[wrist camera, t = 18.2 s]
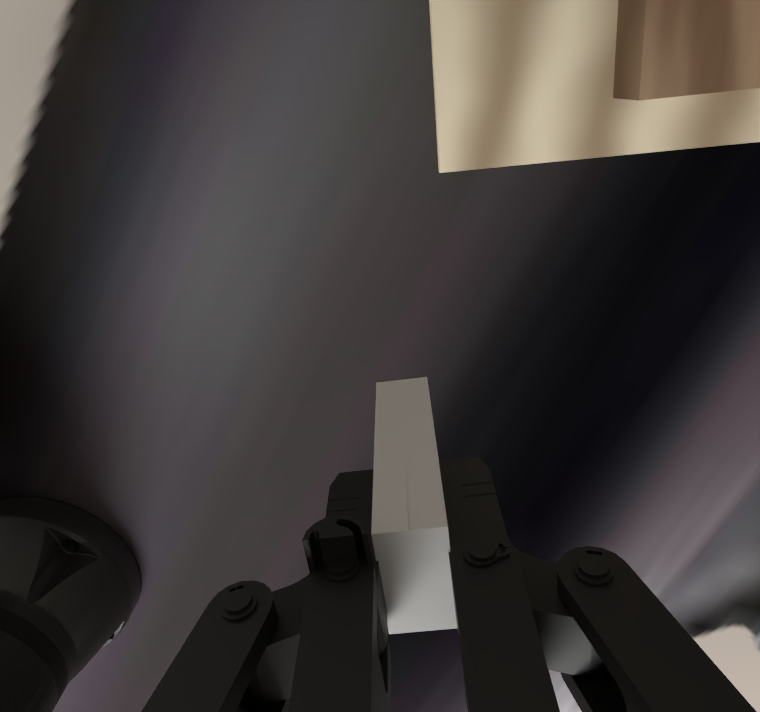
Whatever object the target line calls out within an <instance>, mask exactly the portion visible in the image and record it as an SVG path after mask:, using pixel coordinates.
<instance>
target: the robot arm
mask: <svg viewBox="0 0 760 712" xmlns="http://www.w3.org/2000/svg"><path fill="white" fill-rule="evenodd" d="M302 541H303V546H304V550H305V554H306V558H307V562H308V567H309V571H310V573H309V574H308V575H307V576H306V577H305V578H303V579H302V580H300V581H299V582H297V583H294V584H292V585H290V586H287V587H285V588H282V589H279V590H276V591H273V592H271V589H269V588H268V587H267V586H266V585H265V584H264V583H261V582H257V581H241V582H238V583H235V584H233V585H230V586H228V587H226V588H225V589H223V590H222V591H220V592H219V593H218V594H217V595H216V596H215V597H214V598H213V599H212V600H211V602H210V603H209V604H208V606H207V608H206V609H205V611H204V612H203V614H202V616H201V617H200V619H199V620H198V622H197V624H196V625H195V627H194V628H193V630H192V632H191V633H190V635H189V636H188V638H187V640H186V641H185V643H184V644H183V646H182V648H181V649H180V651H179V652H178V654H177V656H176V657H175V659H174V660H173V662H172V664H171V665H170V667H169V668H168V670H167V672H166V673H165V675H164V676H163V678H162V680H161V681H160V683H159V684H158V686H157V688H156V689H155V691H154V692H153V694H152V696H151V697H150V699H149V700H148V702H147V704H146V705H145V707H144V708H143V710H142V712H391V660H390V652H389V646H388V641H387V625H388V631H389V634H398V633H409V632H420V631H431V630H442V629H454V628H458V636H459V645H460V654H461V663H462V672H463V677H464V685H465V693H466V701H467V709H468V712H560V711H559V707H558V703H557V700H556V696H555V692H554V689H553V685H552V682H551V678H550V674H549V671H548V670H552V671H557V672H561V675H562V678H563V680H564V682H565V683H566V685H567V687H568V688H569V690H570V692H571V694H572V695H573V697H574V699H575V700H576V702H577V704H578V706H579V707H580V709H581V711H582V712H756V711H755V710H754V708H753V707H752V706H751V705H750V704H749V703H748V702H747V700H746V699H745V698H744V697H743V696H742V695H741V694H740V692H739V691H738V690H737V689H736V688H735V687H734V685H733V684H732V683H731V682H730V681H729V680H728V679H727V677H726V676H725V675H724V674H723V673H722V672H721V671H720V670H719V669H718V667H717V666H716V665H715V664H714V663H713V661H712V660H711V659H710V658H709V657H708V656H707V655H706V653H705V652H704V651H703V650H702V649H701V648H700V647H699V645H698V644H697V643H696V642H695V641H694V640H693V638H692V637H691V636H690V635H689V634H688V633H687V632H686V630H685V629H684V628H683V627H682V626H681V625H680V624H679V622H678V621H677V620H676V619H675V618H674V617H673V616H672V614H671V613H670V612H669V611H668V610H667V609H666V608H665V606H664V605H663V604H662V603H661V602H660V601H659V599H658V598H657V597H656V596H655V595H654V594H653V593H652V591H651V590H650V589H649V588H648V587H647V586H646V585H645V583H644V582H643V581H642V580H641V579H640V578H639V577H638V575H637V574H636V573H635V572H634V571H633V570H632V569H631V567H630V566H629V565H628V564H627V563H626V562H625V561H624V560H623V559H622V558H620V557H619V556H618V555H617V554H615V553H613V552H610V551H608V550H606V549H603V548H598V547H591V546H586V547H578V548H574V549H572V550H570V551H568V552H566V553H564V555H563V556H562V557H561V558H560V560H559V561H558V562H552V561H545V560H540V559H536V558H532V557H530V556H528V555H525V554H523V553H522V552H520V551H519V550H517V549H516V548H515V547H514V546H513V545H512V544H511V543H510V541H509V539H508V536H507V533H506V530H505V526H504V522H503V518H502V515H501V511H500V507H499V504H498V500H497V496H496V492H495V489H494V485H493V481H492V478H491V474H490V470H489V468H488V467H487V466H486V465H485V464H484V463H483V462H482V461H481V460H480V459H479V458H478V457H471V458H462V459H452V460H443V461H439V460H438V453H437V445H436V438H435V431H434V424H433V417H432V410H431V403H430V395H429V388H428V381H427V377H422V378H413V379H405V380H396V381H388V382H379V383H376V411H375V441H374V469H372V470H362V471H353V472H344V473H339V474H338V476H337V477H336V479H335V480H334V481H333V483H332V484H331V485H330V489H329V496H328V503H327V510H326V517H325V518H324V519H322V520H320V521H319V522H317V523H315V524H313V525H312V526H311V527H310V528H309V529H308V530H307V531H306V533H305V535H304V537H303V540H302ZM140 588H141V580H140V574H139V570H138V566H137V564H136V561H135V559H134V557H133V555H132V554H131V552H130V550H129V549H128V547H127V546H126V545H125V543H124V542H123V541H122V540H121V539H120V538H119V537H118V535H116V534H115V533H114V532H113V531H112V530H111V529H110V528H109V527H107V526H106V525H105V524H104V523H102V522H101V521H99V520H98V519H96V518H95V517H93V516H91V515H90V514H88V513H86V512H84V511H82V510H80V509H77V508H75V507H73V506H70V505H67V504H64V503H61V502H57V501H53V500H49V499H43V498H34V497H16V498H8V499H3V500H0V712H52V711H53V710H54V707H55V706H56V704H57V702H58V700H59V699H60V697H61V695H62V693H63V691H64V690H65V688H66V686H67V685H68V683H69V682H70V681H71V680H72V679H73V678H74V677H75V676H76V675H77V674H78V673H79V672H80V671H81V670H82V669H83V668H84V666H85V665H86V664H87V663H88V662H89V661H90V660H91V658H92V657H93V656H94V655H95V654H96V653H97V652H98V651H99V650H100V649H101V648H103V647H104V646H106V645H107V644H109V643H110V642H111V641H112V640H113V639H114V638H115V637H116V636H117V635H118V634H119V633H120V631H121V630H122V629H123V627H124V626H125V624H126V623H127V621H128V619H129V617H130V615H131V613H132V611H133V609H134V607H135V605H136V603H137V601H138V598H139V595H140Z"/></svg>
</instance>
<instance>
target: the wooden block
mask: <svg viewBox="0 0 760 712" xmlns="http://www.w3.org/2000/svg"><path fill="white" fill-rule="evenodd" d="M755 88H760V0H618V17H617V34H616V51H615V69H614V86H613V98H616V99H627V100H638V101H640V100H650V99H659V98H669V97H678V96H688V95H698V94H707V93H717V92H726V91H736V90H745V89H755Z"/></svg>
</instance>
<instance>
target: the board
mask: <svg viewBox="0 0 760 712" xmlns="http://www.w3.org/2000/svg"><path fill="white" fill-rule="evenodd" d="M429 12H430V30H431V48H432V65H433V83H434V101H435V118H436V136H437V154H438V171H439V173H443V172H454V171H464V170H474V169H484V168H495V167H505V166H515V165H526V164H536V163H546V162H556V161H567V160H577V159H587V158H598V157H608V156H618V155H629V154H639V153H649V152H659V151H670V150H680V149H690V148H701V147H711V146H721V145H731V144H742V143H752V142H760V88H755V89H745V90H736V91H726V92H717V93H707V94H698V95H688V96H678V97H669V98H659V99H650V100H640V101H638V100H627V99H616V98H613V86H614V69H615V51H616V34H617V17H618V0H429Z"/></svg>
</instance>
